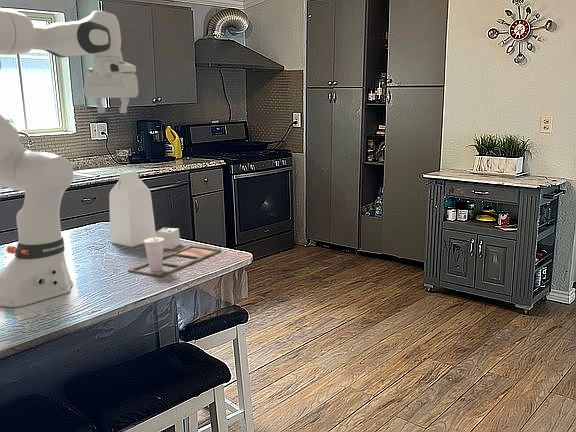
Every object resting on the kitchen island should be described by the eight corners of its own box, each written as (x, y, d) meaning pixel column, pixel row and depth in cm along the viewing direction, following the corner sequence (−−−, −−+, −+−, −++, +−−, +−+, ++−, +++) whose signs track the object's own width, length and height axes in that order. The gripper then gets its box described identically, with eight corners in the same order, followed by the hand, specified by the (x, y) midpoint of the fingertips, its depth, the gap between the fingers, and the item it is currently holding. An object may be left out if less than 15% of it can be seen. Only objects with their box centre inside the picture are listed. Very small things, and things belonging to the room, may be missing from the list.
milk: (135, 235, 223) (130, 168, 217) (156, 239, 216) (151, 170, 211) (110, 242, 213) (104, 172, 207) (131, 246, 207) (125, 174, 201)
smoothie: (169, 266, 183) (166, 223, 179) (162, 273, 176) (159, 228, 173) (149, 266, 183) (146, 223, 180) (142, 272, 177) (139, 228, 174)
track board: (160, 277, 172) (159, 275, 172) (128, 271, 178) (128, 269, 178) (221, 251, 198) (221, 249, 198) (191, 247, 204) (191, 245, 204)
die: (172, 249, 203) (171, 232, 202) (157, 248, 204) (155, 231, 203) (179, 244, 209) (178, 228, 207) (164, 243, 210) (163, 227, 209)
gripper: (77, 68, 180) (81, 113, 183) (124, 65, 170) (128, 113, 173) (92, 68, 185) (96, 112, 188) (140, 66, 175) (143, 112, 178)
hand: (112, 112), depth 181 cm, fingers open, 8 cm apart
